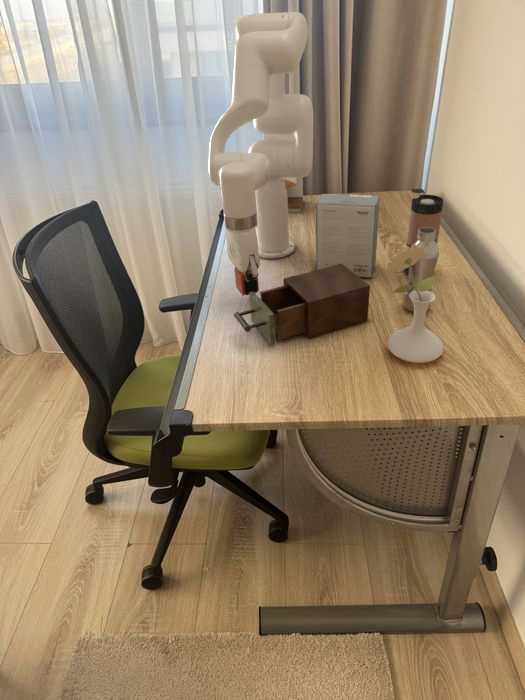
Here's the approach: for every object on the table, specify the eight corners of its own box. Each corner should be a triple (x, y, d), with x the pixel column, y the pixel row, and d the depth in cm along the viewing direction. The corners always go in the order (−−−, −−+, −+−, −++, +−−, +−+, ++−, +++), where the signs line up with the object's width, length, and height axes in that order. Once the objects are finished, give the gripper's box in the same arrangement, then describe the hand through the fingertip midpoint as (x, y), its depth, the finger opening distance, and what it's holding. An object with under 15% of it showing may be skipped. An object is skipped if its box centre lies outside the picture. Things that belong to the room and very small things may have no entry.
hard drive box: (375, 266, 143) (381, 195, 131) (371, 278, 137) (377, 206, 125) (321, 260, 147) (322, 192, 136) (314, 272, 141) (315, 202, 130)
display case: (267, 212, 181) (262, 104, 161) (272, 201, 189) (267, 97, 169) (300, 212, 179) (298, 103, 159) (303, 201, 188) (301, 96, 167)
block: (236, 287, 129) (234, 268, 126) (252, 283, 131) (250, 264, 127) (242, 295, 126) (240, 276, 123) (259, 291, 127) (257, 271, 124)
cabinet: (308, 339, 116) (308, 302, 110) (284, 313, 125) (283, 278, 120) (367, 321, 120) (370, 285, 115) (340, 297, 130) (341, 263, 124)
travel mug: (433, 279, 135) (445, 205, 123) (403, 278, 136) (412, 204, 124) (431, 266, 141) (442, 194, 129) (403, 265, 142) (411, 194, 130)
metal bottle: (398, 303, 126) (406, 225, 114) (425, 300, 126) (436, 223, 115) (406, 316, 121) (416, 237, 109) (434, 314, 121) (447, 234, 109)
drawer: (250, 351, 111) (247, 321, 107) (231, 326, 120) (228, 297, 116) (328, 328, 117) (329, 298, 113) (305, 305, 126) (305, 277, 121)
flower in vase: (432, 335, 114) (450, 229, 99) (449, 366, 105) (471, 254, 90) (374, 339, 114) (383, 233, 99) (386, 370, 105) (397, 259, 90)
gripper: (213, 211, 122) (222, 278, 133) (239, 237, 110) (246, 308, 121) (242, 204, 124) (248, 270, 136) (270, 229, 112) (275, 300, 123)
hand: (247, 288), depth 128 cm, fingers closed on block, 4 cm apart
